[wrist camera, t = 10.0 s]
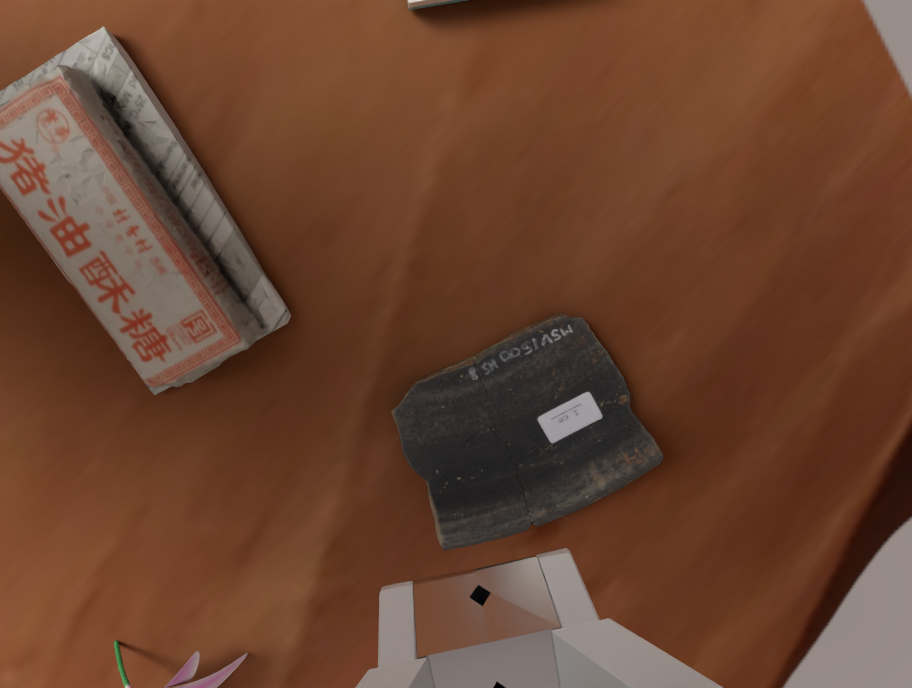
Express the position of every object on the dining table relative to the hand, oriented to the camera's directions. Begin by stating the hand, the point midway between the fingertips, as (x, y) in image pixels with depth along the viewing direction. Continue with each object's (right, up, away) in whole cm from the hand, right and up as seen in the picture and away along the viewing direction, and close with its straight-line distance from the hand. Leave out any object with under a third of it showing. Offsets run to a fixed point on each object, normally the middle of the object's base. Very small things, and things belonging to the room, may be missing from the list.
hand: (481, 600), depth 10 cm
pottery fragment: (+4, -1, +32) cm, 33 cm away
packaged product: (-19, +11, +27) cm, 35 cm away
